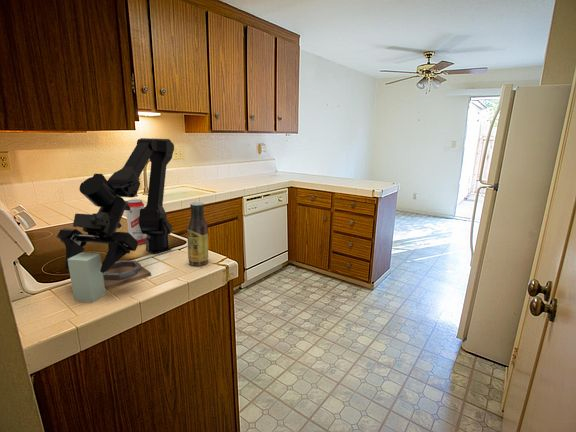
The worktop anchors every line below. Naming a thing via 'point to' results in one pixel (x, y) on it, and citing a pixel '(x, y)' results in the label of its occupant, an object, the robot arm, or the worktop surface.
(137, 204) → the beer can
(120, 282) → the seat board
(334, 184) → the worktop surface
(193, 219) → the sauce bottle
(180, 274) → the worktop surface
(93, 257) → the sage block
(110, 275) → the seat ring
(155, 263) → the worktop surface
